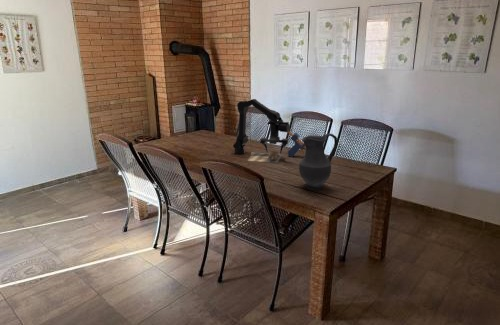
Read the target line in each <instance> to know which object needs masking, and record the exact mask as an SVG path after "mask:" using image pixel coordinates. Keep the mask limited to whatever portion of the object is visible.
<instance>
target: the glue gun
mask: <svg viewBox="0 0 500 325" xmlns="http://www.w3.org/2000/svg"><path fill="white" fill-rule="evenodd" d="M287 134H289V135H290V136H291V137H290V140H292V141H293V143H294V145H293V146H292V147H291V148H289V149H288V151H287V156H289V157H291V158H293V157H294V156H295V155H296V153H298V151H300V152H301V154H304V155H305V153H304V151H305V152H306V146H305V144H304V142H303V141H302V139H300V138H299V137H300V135H299V134H298V133H297V132H295V133H294V134H293V133H292V132H291V131H289V132H287Z"/></svg>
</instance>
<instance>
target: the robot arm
mask: <svg viewBox="0 0 500 325" xmlns="http://www.w3.org/2000/svg"><path fill="white" fill-rule="evenodd" d="M250 106H252V107H253V108H255V109H257V110H258V111H259V112H261V113H262V114H264V115H265V116H266V117H267V119H268V120H269V121H268V122H266V124H267V125H269V126H270V128H269V132H270V133H269V134H270V135H269V138H267V137H261V139H260V141H259V143H260V144H262V145H263V146H264V148H265V152H266V153H269V146H268V144H269V145H272V144H273V145H277V143H279V144H280V143H281V145H280V150H279V152H280V153H279V154H280V155H281V154H282V151H283V148H284V147H285V146H286V145H288V144H289V138H282V139H280V136H279V133H280V132H281V133H288V132H291V131H290V130H291V125H290V122H289V121H284V120H283V119H282V117H281V114H280V112H278V111H276V110H273V109H271V108H268V106H266V105H265V104H263V103H261V102H260V101H258V100H257V99H256V98H252V99H249V100H242V101H238V102H237V111H238V115H239V117H238V118H239V120H238V134H237V136H236V140H235V143H233V144H232V147H233V148H234V154H235V155H245V153H246V152H245V151H246V149H245V146H246V144H248V142H249V135H247V134H246V127H247V124H246V123H247V113H248V111H249V108H250Z"/></svg>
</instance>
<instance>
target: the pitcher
mask: <svg viewBox="0 0 500 325" xmlns="http://www.w3.org/2000/svg"><path fill="white" fill-rule="evenodd" d="M328 137H331V138H333V140H334V141H333V142H334V144H333V147H332V149H331V151H330V153H329V155H328V157H326V154H325V151H324V150H325V149H324V147H325V142H326V141H327V139H328ZM301 141H302V142H303V143H304V144H305V146H306V151H305V153H304V156H303V158H302V160H301V161H299V165H298V171H299V175H300V177H301V179H303V181H304V182H305V183H306V184H305V185H304V187H305V188H306V189H307V190H311V191H321V190H322V189H323V187H324V186H323V185H324V184H325V183H326V182H328V180H329V179H330V176H331V172H332V160H333V157H334V155H335V152H336V151H337V148H338V146H339V145H338V143H339V142H338V141H339V140H338V138H337V136H336V135H334V134H333V133H330V132H329V133H326V134H323V135H317V134H316V135H315V134H312V135H311V134H310V135H309V134H308V135H306V136H304V137H302V138H301Z"/></svg>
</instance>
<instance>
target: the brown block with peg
mask: <svg viewBox="0 0 500 325" xmlns="http://www.w3.org/2000/svg"><path fill="white" fill-rule="evenodd" d="M278 151H279V150H277V149H276V150H275V149H274V150H273V149H271V150H270V151H269V154H270V160H277V157H278V154H279V153H278Z"/></svg>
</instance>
